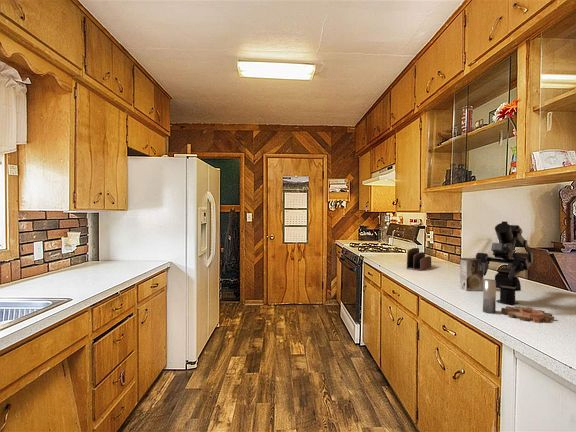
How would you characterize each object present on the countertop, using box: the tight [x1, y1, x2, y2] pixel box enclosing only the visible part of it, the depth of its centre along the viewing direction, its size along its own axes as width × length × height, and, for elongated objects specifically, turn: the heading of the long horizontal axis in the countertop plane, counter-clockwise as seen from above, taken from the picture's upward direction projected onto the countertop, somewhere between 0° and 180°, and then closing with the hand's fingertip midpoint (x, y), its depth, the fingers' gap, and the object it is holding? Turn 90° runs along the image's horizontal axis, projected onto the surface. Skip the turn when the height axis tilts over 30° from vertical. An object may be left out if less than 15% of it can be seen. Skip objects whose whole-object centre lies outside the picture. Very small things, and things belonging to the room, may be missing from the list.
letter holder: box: [406, 247, 432, 272], centre depth 234 cm, size 10×20×14 cm, turn 137°
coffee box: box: [459, 257, 484, 292], centre depth 172 cm, size 9×6×16 cm
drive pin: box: [482, 278, 497, 315], centre depth 135 cm, size 4×4×13 cm
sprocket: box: [500, 305, 555, 323], centre depth 131 cm, size 16×16×3 cm
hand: (496, 276), depth 139 cm, fingers open, 9 cm apart
